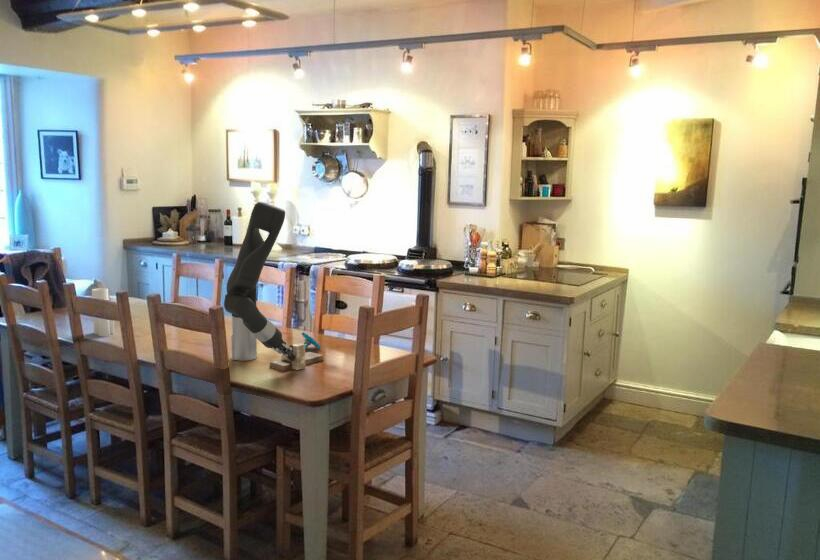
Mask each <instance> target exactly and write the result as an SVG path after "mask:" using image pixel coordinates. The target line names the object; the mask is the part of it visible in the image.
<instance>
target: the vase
mask: <svg viewBox="0 0 820 560" xmlns="http://www.w3.org/2000/svg"><path fill="white" fill-rule="evenodd" d="M92 297H95V298H100V299H104V300H111V301H113V302H114V300H113V299H111V298H109V288H105V287H99V288H98V287H97V288H92V289H91V298H92ZM92 317H93V316H92ZM92 320H93V333H94V335H98V336H99V337H103V338H104V337H105V338H106V337H109V336H111V335H114V334H115V320H114V321H110V320H105V319H100V318H94V317H93V318H92Z"/></svg>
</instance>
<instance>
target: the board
mask: <svg viewBox="0 0 820 560" xmlns="http://www.w3.org/2000/svg"><path fill="white" fill-rule="evenodd" d="M321 360H322V361H324V354H319V353H315V352H312V351H307V352H306V351H305V366H307V365H311V364H314V362H315V363H318V361H319V362H321ZM271 367H273V369H275V368H276V370H278V369H279V371H282V370H283V371H282V372H286V371H289V370H293V369H292V362H290V361H287V360H283V359H281V358H280V359H275V360H273V361H270V362H269V368H271Z"/></svg>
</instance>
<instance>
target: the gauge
mask: <svg viewBox="0 0 820 560" xmlns="http://www.w3.org/2000/svg"><path fill="white" fill-rule="evenodd" d="M291 345H292V346H293V349H294V351H293V354H294V355H295V356H296V358H295V360H294V361H290V360H289V359H288V358H287V357H286V356H283V355H282V354H280V356H281V357H280V359H283V360H287V361H290V362H292V369H291V370H296V371H298V370H302V369H306V365H305V353H306V349H305V346H306V344H304V343H301V342H297V343H295V344H291Z"/></svg>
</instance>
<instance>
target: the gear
mask: <svg viewBox="0 0 820 560" xmlns="http://www.w3.org/2000/svg"><path fill="white" fill-rule="evenodd" d="M301 335H302V336H303V338H304V342H303V344H305V350H307V348H308V347H309V346H311V345H313V346H314V347H315V348H317V349H321V348H322V346H321V345H320V343H317V341H316V340H315V339H314V338H313V337H311V336H310V335H308V334H307V333H305V332H302V333H301Z"/></svg>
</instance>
